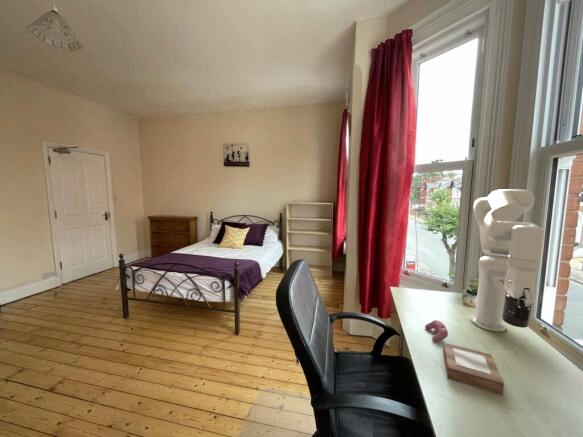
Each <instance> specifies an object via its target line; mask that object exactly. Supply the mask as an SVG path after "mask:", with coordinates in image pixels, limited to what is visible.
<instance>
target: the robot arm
mask: <svg viewBox="0 0 583 437" xmlns="http://www.w3.org/2000/svg"><path fill="white" fill-rule="evenodd" d="M534 204H535V196H534V194H533V192H531V191H530V190H528V189H507V188H506V189H505V188H504V189H496V190H494V191H491V193H489V194H488V196H485V197H479V198H478V199H476V200H475V201H474V202H473V214H474V218H475V220H476V223H477V225H478V227H479V238H480V248H481V251H482V252H483V254H486V255H483V256H481V257H480V258H479V259H478V263H477V268H478V286H477V293H476V294H477V295H476V303H475V311H474V314H472V315H471V316H470V317H469V318H470V321H471V322H472V323H473V324H474V325H476V326H477V327H479V328H482V329H485V330H486V331H491V332H496V333H497V332H498V333H499V332H505V331H506V330H507V325H506V324H505V322H503V319H502V311H503V305H504V298H505V295H506V294H509V295H510V296H511V297H512V298H514V299H516V298H517V307H516V306H515V314H514V318H515V319H519V320H524V321H527V320H528V314H529V310H530V305H531V304H532V305H533V300H534V297H535V290H536V279H537V278H536V276H537V274H536V272H538V271H539V270H540V265H541V264H540V263H541V257H542V256H541V255H542V248H543V243H544V237H545V236H544V235H545V231H544V229H543V227H540V226H538V225H537V224H536V223H533V222H529V221H528V222H526V221H516V220H518V219H519V218H520V217H521V215H522V214H524V213H526V212H528V211H529V210H531V209H532V207H533V206H534ZM500 280H504V284H503V283H502V282H501V281H500ZM520 297H524V299H523V298H520ZM520 300H521V301H524V302H522V303H521V304H520Z"/></svg>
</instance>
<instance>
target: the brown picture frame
mask: <svg viewBox="0 0 583 437" xmlns="http://www.w3.org/2000/svg"><path fill="white" fill-rule="evenodd" d="M442 355H443V361H444V366H445V371H446V372H445V373H446V377H447V379H448V380H452V381H454V382H456V383H461V384H464V385H467V386H469V387H470V386H471V387H473V388H478V389H480V390H484V391H486V392H491V393H494V394H497V395H500V396H503V395H504V389H505V388H504V387H505V382H504V380H503V378H502V376H501V373H500V371H499V369H498V367H497V364H496V363H495V360H494V358H493V355H492V354H491V353H487V352H484V351H479V350H476V349H471V348H467V347H464V346H463V347H462V346H459V345H455V344H451V343H446V342H443V349H442Z"/></svg>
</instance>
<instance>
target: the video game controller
mask: <svg viewBox="0 0 583 437" xmlns="http://www.w3.org/2000/svg"><path fill="white" fill-rule="evenodd" d="M424 329H425V330H427V331H428V330H429V331H431V330H433V333H434V335H433V336H432V337H431V338H432V341H433V342H436V343H437V342H440V341H443V340H444V339H446V338H447V337H448V335H449V331H448V330H447V327H446V325H445V324H444V322H442V321H440V320H438V319H435V320H434V319H433V321H431V322H429V323H427V324H426V325H425V327H424Z"/></svg>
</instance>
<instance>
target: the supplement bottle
mask: <svg viewBox="0 0 583 437" xmlns="http://www.w3.org/2000/svg"><path fill="white" fill-rule="evenodd" d="M520 298H523V299H524V297H520ZM522 302H524V301H521V300H520V304H521V303H522ZM515 306H516V307H517V298H516V299H514V298H512V297H511V296H510V295H509V294H507V293H506V295H505V298H504V305H503V311H502V322H503V321H504V323H506V324H508V325H509V326H513V327H517V328H520V329H521V328H524V329H525V328H528V327H529V325H530V320H531V319H530V318H531V313H532V308H533V303H532V304H531V305H530V310H529V314H528V320H527V321H524V320H519V319H515V318H514V314H515Z"/></svg>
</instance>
